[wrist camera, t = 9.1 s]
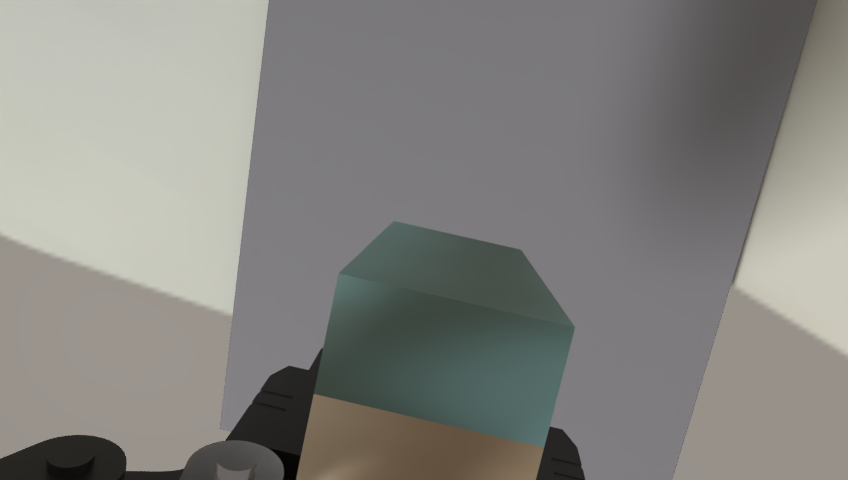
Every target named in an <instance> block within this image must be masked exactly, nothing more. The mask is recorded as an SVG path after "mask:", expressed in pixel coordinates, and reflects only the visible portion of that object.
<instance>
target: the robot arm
mask: <svg viewBox="0 0 848 480" xmlns="http://www.w3.org/2000/svg"><path fill="white" fill-rule="evenodd" d="M322 351H323V348H321V350H320V351H319V353H318V355H317V356H316V358H315V360H314V362H313V364H312V365H311V367H310V369H309V370H306V369H302V368H298V367H293V366H287V367H285V368H283V369H281V370H279V371H278V372H276V373H274V374H272V375H270V376H269V378H268V379H267V381H266V382H265V384H264V385H263V386H262V388H261V389H260V393H259V392H258V394H257V395H256V397H255V398H254V400H253V401H252V404H250V405H249V407H248V408H247V410H246V411H245V413H244V414H243V416H242V417H241V418H240V420H239V421H238V423H237V424H236V426H235V427H234V429H233V430H232V432H231V433H230V435H229V436H228V438H227V439H226V440H225V441H221V442H216V443H212V444H209V445H207V446H205V447H203V448H201V449H199V450H198V451H196V452H195V453H194V454H193V455H192V456H191V457H190V458H189V460H188V462H187V464H186V466H185V468H184V469H181V470H176V471H166V472H165V471H164V472H145V471H144V472H143V471H139V472H138V471H126V456H125V453H124V452H123V450H122V449H121V448H120V447H119V446H118V445H116V444H115V443H113V442H111V441H109V440H106V439H103V438H99V437H95V436H86V435H72V436H64V437H57V438H53V439H49V440H46V441H43V442H41V443H38V444H35V445H33V446H31V447H28V448H26V449H23V450H21V451H18V452H16V453H14V454H11V455H9V456H6V457H4V458H1V459H0V480H296V477H297V472H298V467H299V462H300V458H301V453H302V448H303V443H304V438H305V433H306V429H307V424H308V419H309V414H310V409H311V404H312V400H313V395H314V390H315V385H316V380H317V375H318V371H319V366H320V361H321V356H322ZM581 466H582V464H581V460H580V456H579V452H578V448H577V446H576V445H575V444H574V443H573V442H572V440H571V439H570V438H569V437H568V435H567V434H566V433H565V432H564V431H563V429H559V428H555V427H549V431H548V435H547V439H546V442H545V446H544V450H543V454H542V458H541V462H540V466H539V469H538V473H537V477H536V480H585V476H584V472H583V469H582V468H581Z"/></svg>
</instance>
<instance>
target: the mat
mask: <svg viewBox="0 0 848 480" xmlns="http://www.w3.org/2000/svg"><path fill="white" fill-rule="evenodd" d="M816 1H817V0H269V4H268V13H267V21H266V30H265V39H264V48H263V56H262V65H261V74H260V82H259V91H258V100H257V109H256V117H255V126H254V135H253V143H252V152H251V161H250V170H249V178H248V187H247V196H246V204H245V213H244V222H243V231H242V239H241V248H240V257H239V265H238V274H237V283H236V291H235V300H234V309H233V318H232V327H231V335H230V344H229V352H228V361H227V362H228V363H227V370H226V379H225V387H224V397H223V406H222V413H221V422H220V429H223V430H227V431H231V432H232V430H233V429H234V427H235V426H236V424H237V423H238V421H239V420H240V418H241V417H242V416H243V414H244V413H245V411H246V410H247V408H248V407H249V405H250V404H252V401H253V400H254V398H255V397H256V395H257V394H258V392H259V393H260V389H261V388H262V386H263V385H264V384H265V382H266V381H267V379H268V378H269V376H270V375H272V374H274V373H276V372H278V371H279V370H281V369H283V368H285V367H287V366H293V367H298V368H302V369H306V370H309V369H310V367H311V365H312V364H313V362H314V360H315V358H316V356H317V355H318V353H319V351H320V350H321V348H323V346H324V342H325V337H326V332H327V327H328V322H329V317H330V313H331V308H332V303H333V298H334V293H335V288H336V284H337V279H338V274H339V272H341V271H342V270H343V269H344V268H345V267H346V266H347V265H348V264H349V263H350V262H351V261H352V260H353V259H354V258H355V257H356V256H357V255H358V254H359V253H361V252H362V251H363V250H364V249H365V248H366V247H367V246H368V245H369V244H370V243H371V242H372V241H373V240H374V239H375V238H376V237H377V236H378V235H379V234H381V233H382V232H383V231H384V230H385V229H386V228H387V227H388V226H389V225H390V224H391V223H392V222H393V221H397V222H401V223H405V224H410V225H414V226H419V227H423V228H428V229H432V230H436V231H441V232H445V233H450V234H454V235H459V236H463V237H467V238H472V239H476V240H481V241H485V242H489V243H494V244H498V245H503V246H507V247H512V248H516V249H520V250H522V252H523V253H524V255H525V256H526V257H527V259H528V260H529V262H530V263H531V265H532V266H533V267H534V269H535V270H536V272H537V273H538V275H539V276H540V277H541V279H542V280H543V282H544V283H545V285H546V286H547V288H548V289H549V290H550V292H551V293H552V295H553V296H554V298H555V299H556V300H557V302H558V303H559V305H560V306H561V308H562V309H563V310H564V312H565V313H566V315H567V316H568V318H569V319H570V321H571V322H572V323H573V325H574V326H575V330H574V334H573V338H572V342H571V346H570V350H569V354H568V357H567V361H566V365H565V369H564V373H563V377H562V381H561V384H560V388H559V392H558V396H557V400H556V404H555V408H554V411H553V415H552V419H551V423H550V427H555V428H559V429H563V431H564V432H565V433H566V434H567V435H568V437H569V438H570V439H571V440H572V442H573V443H574V444H575V445H576V446H577V448H578V452H579V456H580V460H581V464H582V466H581V468H582V469H583V472H584V476H585V480H672V478H673V475H674V472H675V468H676V465H677V461H678V458H679V455H680V451H681V448H682V445H683V442H684V438H685V435H686V432H687V429H688V425H689V422H690V419H691V415H692V412H693V408H694V405H695V402H696V399H697V395H698V392H699V389H700V385H701V382H702V379H703V375H704V372H705V369H706V366H707V362H708V358H709V356H710V352H711V349H712V346H713V342H714V339H715V336H716V332H717V329H718V326H719V322H720V319H721V316H722V313H723V309H724V306H725V303H726V299H727V296H728V292H729V289H730V286H731V283H732V279H733V276H734V273H735V269H736V266H737V263H738V260H739V256H740V253H741V250H742V246H743V243H744V240H745V236H746V233H747V230H748V226H749V223H750V220H751V216H752V213H753V210H754V206H755V203H756V200H757V197H758V193H759V190H760V187H761V183H762V180H763V177H764V173H765V170H766V167H767V163H768V160H769V157H770V153H771V150H772V147H773V144H774V140H775V137H776V134H777V130H778V127H779V124H780V120H781V117H782V114H783V110H784V107H785V104H786V100H787V97H788V94H789V91H790V87H791V84H792V81H793V77H794V74H795V71H796V67H797V64H798V61H799V57H800V54H801V51H802V47H803V44H804V41H805V37H806V34H807V31H808V28H809V24H810V21H811V18H812V14H813V11H814V8H815V4H816Z"/></svg>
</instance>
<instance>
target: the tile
mask: <svg viewBox="0 0 848 480" xmlns="http://www.w3.org/2000/svg"><path fill="white" fill-rule="evenodd" d="M574 330H575V326H574V325H573V323H572V322H571V321H570V319H569V318H568V316H567V315H566V313H565V312H564V310H563V309H562V308H561V306H560V305H559V303H558V302H557V300H556V299H555V298H554V296H553V295H552V293H551V292H550V290H549V289H548V288H547V286H546V285H545V283H544V282H543V280H542V279H541V277H540V276H539V275H538V273H537V272H536V270H535V269H534V267H533V266H532V265H531V263H530V262H529V260H528V259H527V257H526V256H525V255H524V253H523V252H522V250H520V249H516V248H512V247H507V246H503V245H498V244H494V243H489V242H485V241H481V240H476V239H472V238H467V237H463V236H459V235H454V234H450V233H445V232H441V231H436V230H432V229H428V228H423V227H419V226H414V225H410V224H405V223H401V222H397V221H393V222H392V223H391V224H390V225H389V226H388V227H387V228H386V229H385V230H384V231H383V232H382V233H381V234H379V235H378V236H377V237H376V238H375V239H374V240H373V241H372V242H371V243H370V244H369V245H368V246H367V247H366V248H365V249H364V250H363V251H362V252H361V253H359V254H358V255H357V256H356V257H355V258H354V259H353V260H352V261H351V262H350V263H349V264H348V265H347V266H346V267H345V268H344V269H343V270H342V271H341V272H339V274H338V279H337V284H336V288H335V293H334V298H333V303H332V308H331V313H330V317H329V322H328V327H327V332H326V337H325V342H324V346H323V351H322V356H321V361H320V366H319V371H318V375H317V380H316V385H315V390H314V395H313V400H312V404H311V409H310V414H309V419H308V424H307V429H306V433H305V438H304V443H303V448H302V453H301V458H300V462H299V467H298V472H297V477H296V480H536V477H537V473H538V469H539V466H540V462H541V458H542V454H543V450H544V446H545V442H546V439H547V435H548V431H549V427H550V423H551V419H552V415H553V411H554V408H555V404H556V400H557V396H558V392H559V388H560V384H561V381H562V377H563V373H564V369H565V365H566V361H567V357H568V354H569V350H570V346H571V342H572V338H573V334H574Z"/></svg>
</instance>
